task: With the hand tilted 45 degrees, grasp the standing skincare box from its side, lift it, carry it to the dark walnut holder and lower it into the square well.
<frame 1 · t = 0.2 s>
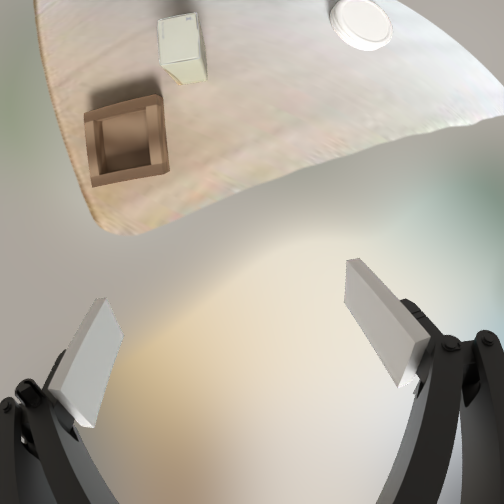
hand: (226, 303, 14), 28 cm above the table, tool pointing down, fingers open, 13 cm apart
white round piece: (357, 26, 30), on the table
skincare box: (192, 65, 31), on the table
holder: (130, 140, 35), on the table
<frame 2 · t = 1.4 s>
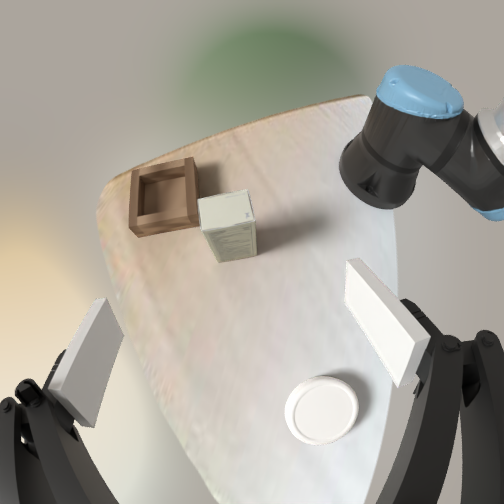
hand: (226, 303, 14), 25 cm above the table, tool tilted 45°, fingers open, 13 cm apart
white round piece: (318, 408, 34), on the table
skincare box: (234, 247, 42), on the table
holder: (168, 202, 44), on the table
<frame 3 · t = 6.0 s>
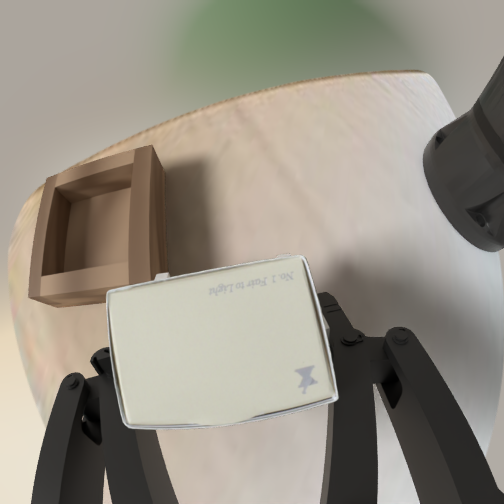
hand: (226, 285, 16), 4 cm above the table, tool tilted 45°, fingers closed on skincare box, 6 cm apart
skincare box: (239, 347, 18), on the table, touching gripper
holder: (107, 238, 21), on the table
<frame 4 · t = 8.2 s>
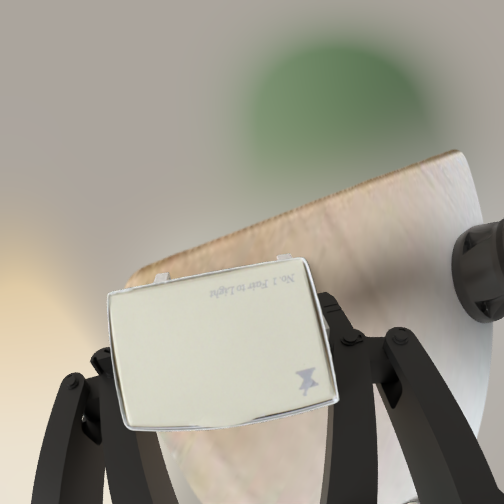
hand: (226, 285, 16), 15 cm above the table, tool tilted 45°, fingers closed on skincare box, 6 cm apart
skincare box: (240, 348, 18), point 11 cm above the table, touching gripper
when the fingers open (6 cm above the table, at t = 10.5 s): skincare box stays where it is, resting on holder.
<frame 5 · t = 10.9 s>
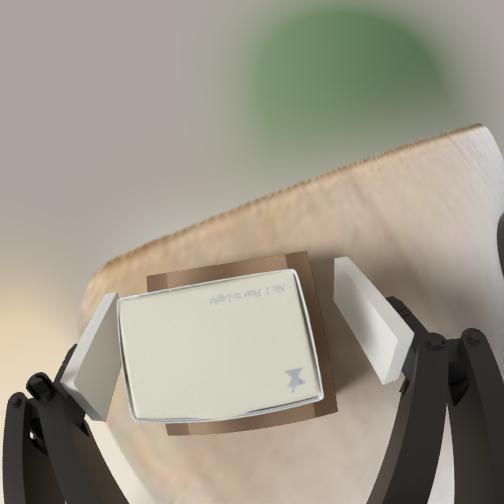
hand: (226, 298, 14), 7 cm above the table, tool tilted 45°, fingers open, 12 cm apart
skincare box: (238, 349, 19), point 1 cm above the table, touching holder
holder: (240, 347, 20), on the table
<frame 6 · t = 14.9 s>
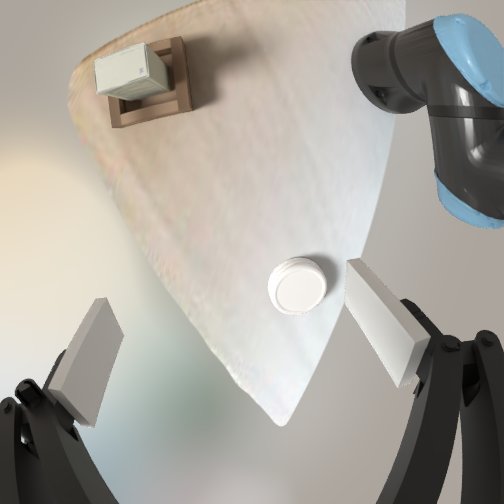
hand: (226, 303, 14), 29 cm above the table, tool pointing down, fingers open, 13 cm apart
white round piece: (295, 281, 48), on the table
skincare box: (149, 84, 31), point 1 cm above the table, touching holder
holder: (151, 84, 32), on the table
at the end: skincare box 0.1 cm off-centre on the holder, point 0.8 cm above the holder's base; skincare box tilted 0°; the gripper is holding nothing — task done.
